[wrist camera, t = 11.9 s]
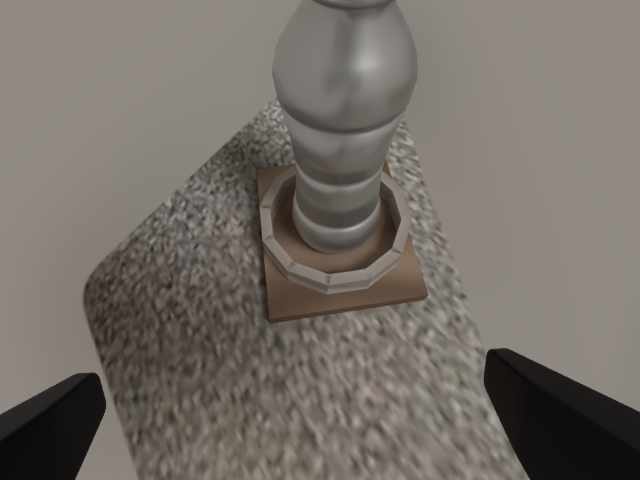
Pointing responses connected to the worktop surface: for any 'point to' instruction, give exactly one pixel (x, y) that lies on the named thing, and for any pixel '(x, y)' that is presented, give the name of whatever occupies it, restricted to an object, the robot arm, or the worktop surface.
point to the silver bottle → (342, 111)
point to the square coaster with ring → (334, 256)
